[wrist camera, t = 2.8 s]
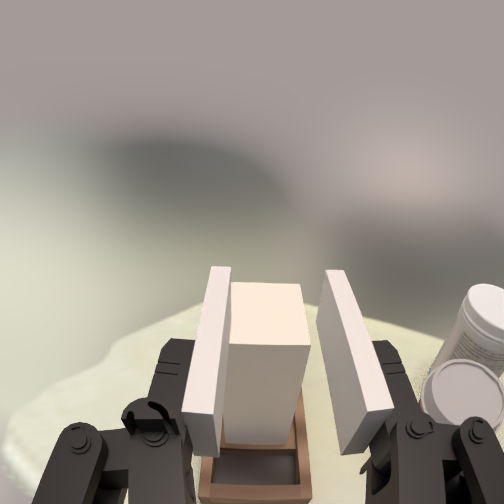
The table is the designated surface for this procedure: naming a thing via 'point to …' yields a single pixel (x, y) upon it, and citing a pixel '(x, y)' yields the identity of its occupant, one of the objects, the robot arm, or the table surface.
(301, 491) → the trap track
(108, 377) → the table surface
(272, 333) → the block
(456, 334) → the supplement tub
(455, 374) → the disposable coffee cup
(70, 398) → the table surface
